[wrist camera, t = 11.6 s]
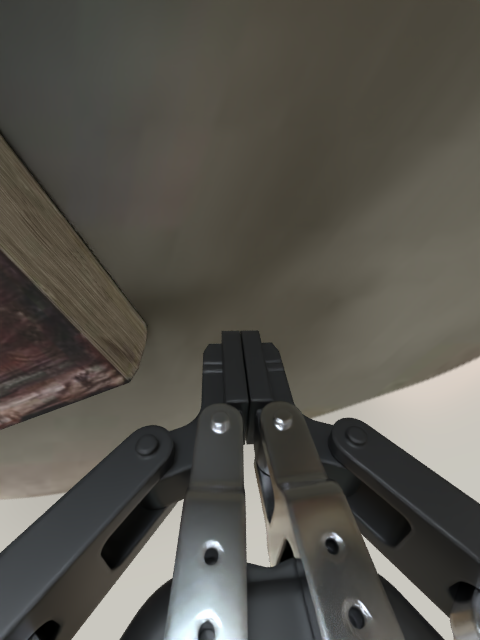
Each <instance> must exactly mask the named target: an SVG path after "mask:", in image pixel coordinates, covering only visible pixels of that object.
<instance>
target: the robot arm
mask: <svg viewBox="0 0 480 640" xmlns="http://www.w3.org/2000/svg"><path fill="white" fill-rule="evenodd" d="M245 437H246V443H247V444H254V450H255V460H254V468H255V473H256V478H257V483H258V487H259V493H260V498H261V503H262V508H263V513H264V518H265V523H266V531H267V547H268V554H269V560H270V566H271V567H263V566H258V565H255V564H251V563H247V562H246V561H247V560H246V506H245V490H244V472H243V445H244V444H245ZM182 499H184V502H183V510H182V516H181V523H180V531H179V538H178V545H177V551H176V559H175V566H174V572H173V578H172V579H170V580H169V581H167V582H166V583H165V584H164V585H162V586H161V587H160V588H159V589H158V590H156V591H155V592H154V593H153V594H152V595H151V596H150V597H149V598H148V600H147V601H146V602H145V603H144V605H143V606H142V607H141V608H140V609H139V611H138V612H137V614H136V615H135V617H134V618H133V620H132V621H131V623H130V624H129V626H128V627H127V629H126V630H125V632H124V634H123V635H122V637H121V638H120V640H444V639H443V638H442V636H441V635H440V634H439V633H438V632H437V631H436V630H435V629H434V628H433V627H432V626H431V625H430V624H429V623H428V622H427V621H426V620H425V619H424V618H423V617H422V615H421V614H420V613H419V612H418V611H417V610H416V609H415V608H414V607H413V606H412V605H411V604H410V603H409V602H408V601H407V600H406V599H405V598H404V597H403V596H402V594H401V593H400V592H399V591H398V590H397V589H396V588H395V587H394V586H393V585H391V584H390V583H389V582H388V581H387V580H386V579H385V578H383V577H382V576H380V575H379V574H377V571H376V569H375V567H374V564H373V562H372V559H371V557H370V554H369V552H368V549H367V547H366V545H365V542H364V540H363V537H362V535H363V536H364V537H365V538H366V539H367V540H369V542H371V543H372V544H373V545H374V546H375V547H376V548H377V549H378V550H379V551H380V552H381V553H382V554H383V555H384V556H385V557H386V558H387V559H389V561H390V562H391V563H392V564H394V565H395V566H396V567H397V568H398V569H399V570H400V571H401V572H402V573H403V574H404V575H405V576H406V577H407V578H408V579H409V580H410V581H411V582H412V583H413V584H414V585H416V586H417V587H418V588H419V589H420V590H421V591H422V592H423V593H424V594H425V595H426V596H427V597H428V598H429V599H430V600H431V601H432V602H433V603H434V604H435V605H436V606H438V607H439V608H440V609H441V610H442V611H443V612H444V613H445V614H446V615H447V616H448V617H449V618H450V623H451V628H452V632H453V635H454V640H480V504H479V503H478V502H476V501H475V500H473V499H472V498H471V497H469V496H468V495H466V494H465V493H463V492H462V491H461V490H459V489H458V488H456V487H455V486H454V485H452V484H451V483H449V482H448V481H446V480H445V479H444V478H442V477H441V476H439V475H438V474H436V473H435V472H434V471H432V470H431V469H430V468H428V467H427V466H425V465H424V464H422V463H421V462H420V461H418V460H417V459H415V458H414V457H413V456H411V455H410V454H408V453H407V452H406V451H404V450H403V449H401V448H400V447H398V446H397V445H396V444H394V443H393V442H391V441H390V440H388V439H387V438H386V437H384V436H383V435H381V434H380V433H378V432H377V431H376V430H374V429H373V428H372V427H370V426H369V425H367V424H366V423H364V422H362V421H360V420H357V419H354V418H342V419H340V420H338V421H337V422H336V423H335V424H334V425H330V424H326V423H322V422H318V421H315V420H312V419H310V418H308V417H306V416H305V415H303V414H302V413H301V411H300V410H299V409H298V408H297V407H296V406H295V404H294V402H293V398H292V395H291V391H290V388H289V384H288V381H287V377H286V374H285V371H284V367H283V363H282V360H281V356H280V353H279V351H278V349H277V348H276V347H275V346H274V345H273V344H272V343H261V339H260V334H259V331H258V330H257V331H222V344H209V345H208V346H207V348H206V349H205V351H204V353H203V377H202V404H201V410H200V412H199V414H198V416H197V417H196V418H195V419H194V420H193V421H192V422H191V423H189V424H187V425H186V426H183V427H181V428H178V429H175V430H172V431H167V430H166V429H165V428H163V427H161V426H156V425H150V426H145V427H142V428H140V429H138V430H136V431H135V432H133V433H132V434H131V435H130V436H129V437H127V438H126V439H125V440H124V441H123V442H122V443H121V444H120V445H119V446H118V447H116V448H115V449H114V450H113V451H112V452H111V453H110V454H109V455H108V456H107V457H105V458H104V459H103V460H102V461H101V462H100V463H99V464H98V465H97V466H96V467H94V468H93V469H92V470H91V471H90V472H89V473H88V474H87V475H86V476H84V477H83V478H82V479H81V480H80V481H79V482H78V483H77V484H76V485H75V486H73V487H72V488H71V489H70V490H69V491H68V492H67V493H66V494H65V495H64V496H62V497H61V498H60V499H59V500H58V501H57V502H56V503H55V504H54V505H53V506H51V507H50V508H49V509H48V510H47V511H46V512H45V513H44V514H43V515H42V516H41V517H39V518H38V519H37V520H36V521H35V522H34V523H33V524H32V525H31V526H29V527H28V528H27V529H26V530H25V531H24V532H23V533H22V534H21V535H19V536H18V537H17V538H16V539H15V540H14V541H13V542H12V543H11V544H10V545H8V546H7V547H6V548H5V549H4V550H3V551H2V552H1V553H0V640H71V639H72V638H73V637H74V635H75V634H76V633H77V631H78V630H79V629H80V627H81V626H82V625H83V624H84V622H85V621H86V620H87V618H88V617H89V616H90V615H91V613H92V612H93V611H94V609H95V608H96V607H97V606H98V604H99V603H100V602H101V600H102V599H103V598H104V596H105V595H106V594H107V593H108V591H109V590H110V589H111V587H112V586H113V585H114V584H115V582H116V581H117V580H118V579H119V577H120V576H121V575H122V573H123V572H124V571H125V570H126V568H127V567H128V566H129V564H130V563H131V562H132V561H133V559H134V558H135V557H136V555H137V554H138V553H139V552H140V550H141V549H142V548H143V546H144V545H145V543H147V541H148V540H149V539H150V537H151V536H152V535H153V534H154V532H155V531H156V530H157V528H158V527H159V526H160V524H161V523H162V522H163V521H164V519H165V518H166V517H167V516H168V514H169V513H170V512H171V510H172V509H173V508H174V506H175V505H176V503H177V502H178V501H180V500H182ZM361 534H362V535H361Z"/></svg>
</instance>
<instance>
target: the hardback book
mask: <svg viewBox="0 0 480 640" xmlns="http://www.w3.org/2000/svg"><path fill="white" fill-rule="evenodd" d="M146 341H147V324H146V323H145V322H144V320H143V319H142V318H141V316H140V315H139V314H138V313H137V311H136V310H135V309H134V307H133V306H132V305H131V303H130V302H129V301H128V300H127V298H126V297H125V296H124V294H123V293H122V292H121V290H120V289H119V288H118V287H117V285H116V284H115V283H114V281H113V280H112V279H111V277H110V276H109V275H108V274H107V272H106V271H105V270H104V268H103V267H102V266H101V265H100V263H99V262H98V261H97V259H96V258H95V257H94V255H93V254H92V253H91V252H90V250H89V249H88V248H87V246H86V245H85V244H84V242H83V241H82V240H81V239H80V237H79V236H78V235H77V233H76V232H75V231H74V229H73V228H72V227H71V226H70V224H69V223H68V222H67V220H66V219H65V218H64V216H63V215H62V214H61V213H60V211H59V210H58V209H57V207H56V206H55V205H54V203H53V202H52V201H51V200H50V198H49V197H48V196H47V194H46V193H45V192H44V190H43V189H42V188H41V187H40V185H39V184H38V183H37V181H36V180H35V179H34V177H33V176H32V175H31V174H30V172H29V171H28V170H27V168H26V167H25V166H24V164H23V163H22V162H21V161H20V159H19V158H18V157H17V155H16V154H15V153H14V151H13V150H12V149H11V148H10V146H9V145H8V144H7V142H6V141H5V140H4V138H3V137H2V136H1V135H0V430H1V429H4V428H7V427H9V426H12V425H15V424H18V423H20V422H23V421H26V420H28V419H31V418H34V417H37V416H39V415H42V414H45V413H48V412H50V411H53V410H56V409H58V408H61V407H64V406H67V405H69V404H72V403H75V402H78V401H80V400H83V399H86V398H88V397H91V396H94V395H97V394H99V393H102V392H105V391H107V390H110V389H113V388H116V387H118V386H121V385H124V384H127V383H129V382H130V381H131V380H132V378H133V376H134V375H135V373H136V372H137V370H138V368H139V365H140V362H141V358H142V355H143V351H144V348H145V344H146Z"/></svg>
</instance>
